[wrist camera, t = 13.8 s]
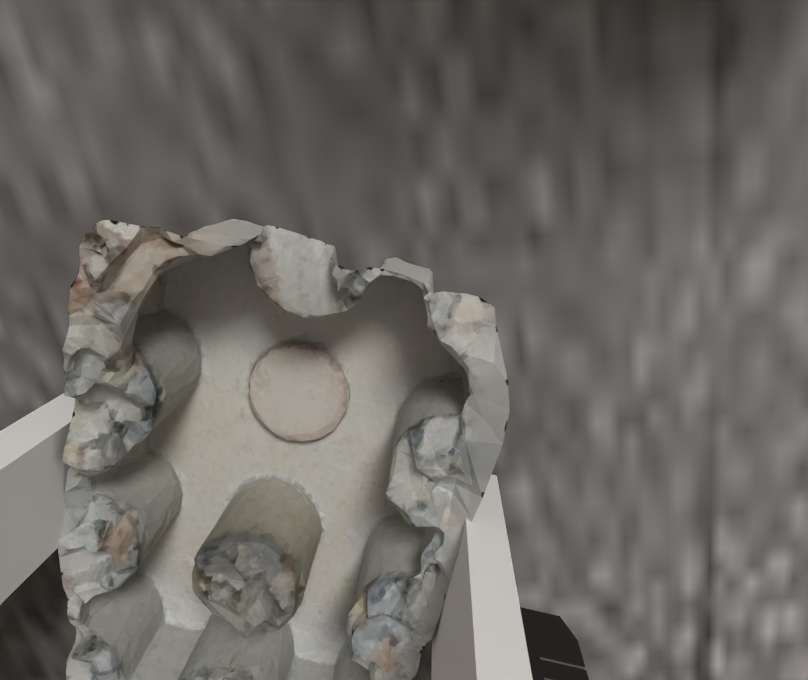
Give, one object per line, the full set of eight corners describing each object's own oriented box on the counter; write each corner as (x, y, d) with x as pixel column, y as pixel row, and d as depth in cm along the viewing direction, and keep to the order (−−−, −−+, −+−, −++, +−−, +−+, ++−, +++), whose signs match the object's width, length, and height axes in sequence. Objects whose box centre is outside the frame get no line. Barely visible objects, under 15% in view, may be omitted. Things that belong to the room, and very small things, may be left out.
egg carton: (179, 181, 13) (68, 186, 9) (524, 287, 13) (559, 335, 9) (96, 601, 16) (-17, 742, 12) (383, 685, 16) (365, 851, 12)
